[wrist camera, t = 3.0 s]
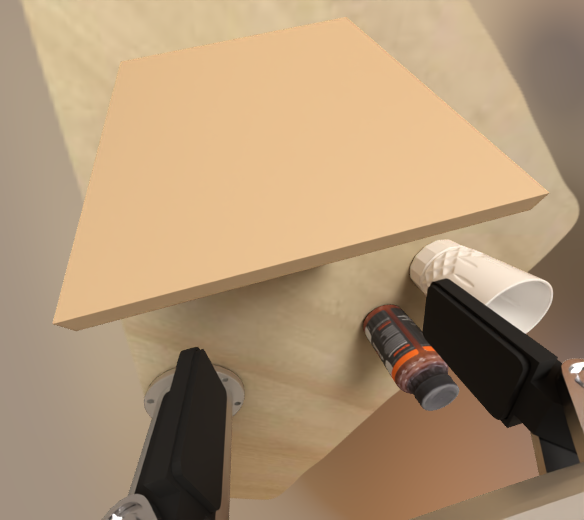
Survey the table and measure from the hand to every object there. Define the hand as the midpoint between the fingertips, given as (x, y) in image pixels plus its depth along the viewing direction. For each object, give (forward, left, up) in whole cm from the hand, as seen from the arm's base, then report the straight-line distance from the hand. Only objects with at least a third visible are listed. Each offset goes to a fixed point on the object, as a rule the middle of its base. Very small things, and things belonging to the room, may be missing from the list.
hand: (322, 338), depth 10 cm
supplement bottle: (-18, -11, -16) cm, 26 cm away
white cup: (-11, -18, -16) cm, 26 cm away
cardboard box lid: (+8, 0, -4) cm, 9 cm away
